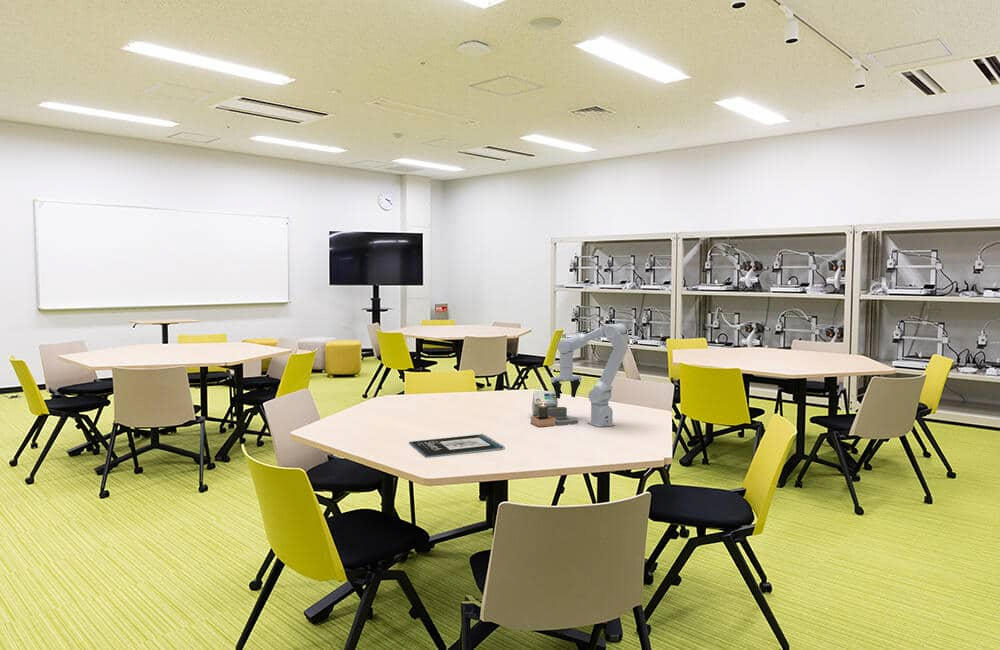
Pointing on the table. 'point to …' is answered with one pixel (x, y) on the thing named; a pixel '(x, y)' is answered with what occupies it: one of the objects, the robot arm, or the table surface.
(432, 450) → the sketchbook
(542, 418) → the battery cell
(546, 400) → the light bulb box
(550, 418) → the tray
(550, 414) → the grey rectangular holed block
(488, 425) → the table surface
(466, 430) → the table surface
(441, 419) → the table surface
